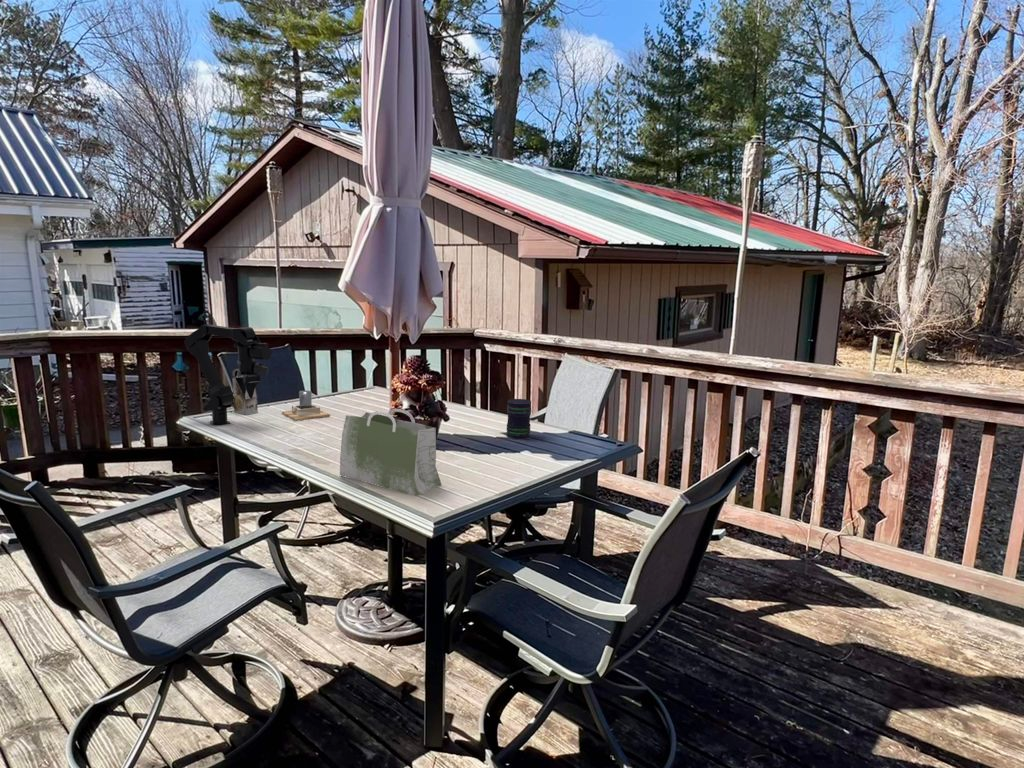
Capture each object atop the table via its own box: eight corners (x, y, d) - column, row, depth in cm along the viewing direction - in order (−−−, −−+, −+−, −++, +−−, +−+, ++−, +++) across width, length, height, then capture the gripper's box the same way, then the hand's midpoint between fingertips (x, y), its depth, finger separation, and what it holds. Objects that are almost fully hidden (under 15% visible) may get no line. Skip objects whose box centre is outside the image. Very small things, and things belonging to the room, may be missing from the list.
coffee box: (258, 412, 286) (257, 377, 284) (245, 415, 281) (244, 379, 278) (246, 410, 291) (244, 375, 288) (233, 412, 286) (231, 377, 283)
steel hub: (297, 413, 283) (296, 392, 281) (304, 411, 287) (303, 390, 286) (307, 414, 281) (306, 393, 279) (314, 412, 286) (313, 391, 284)
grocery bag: (443, 483, 199) (445, 412, 195) (417, 496, 187) (417, 420, 183) (366, 466, 214) (366, 399, 210) (337, 477, 202) (336, 406, 198)
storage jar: (502, 437, 258) (503, 401, 256) (512, 432, 267) (513, 397, 264) (524, 440, 254) (525, 404, 251) (533, 435, 263) (535, 400, 260)
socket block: (282, 414, 286) (281, 405, 285) (316, 410, 296) (316, 401, 295) (295, 421, 273) (294, 412, 273) (330, 416, 283) (330, 408, 283)
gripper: (273, 360, 254) (275, 397, 257) (258, 354, 268) (260, 390, 271) (245, 361, 247) (246, 400, 250) (231, 356, 261) (232, 392, 264)
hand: (247, 395), depth 259 cm, fingers open, 9 cm apart
